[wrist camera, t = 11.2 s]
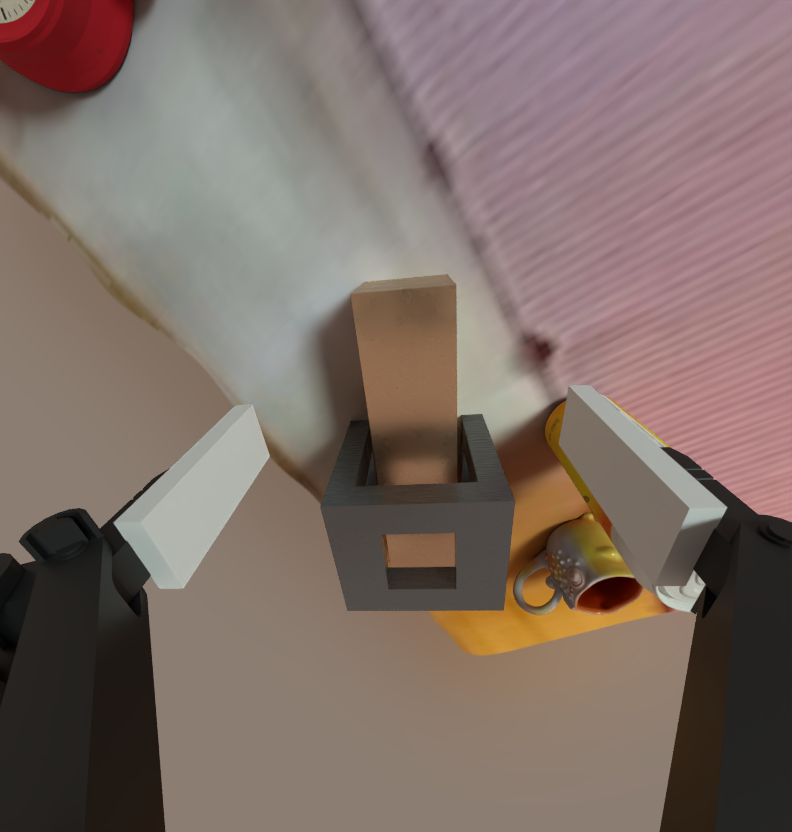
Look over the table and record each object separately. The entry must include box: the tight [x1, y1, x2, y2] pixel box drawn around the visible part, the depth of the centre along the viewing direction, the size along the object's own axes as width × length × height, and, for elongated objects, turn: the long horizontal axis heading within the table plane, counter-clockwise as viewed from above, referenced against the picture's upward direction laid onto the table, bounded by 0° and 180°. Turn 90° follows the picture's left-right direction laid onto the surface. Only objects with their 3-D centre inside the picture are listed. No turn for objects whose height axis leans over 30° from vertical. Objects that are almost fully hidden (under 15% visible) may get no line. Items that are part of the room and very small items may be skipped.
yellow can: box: [545, 395, 705, 612], centre depth 22 cm, size 6×6×15 cm
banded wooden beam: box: [350, 274, 457, 567], centre depth 27 cm, size 24×6×6 cm, turn 5°
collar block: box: [321, 414, 515, 611], centre depth 27 cm, size 10×12×11 cm
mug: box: [513, 513, 644, 615], centre depth 33 cm, size 12×7×7 cm, turn 127°
